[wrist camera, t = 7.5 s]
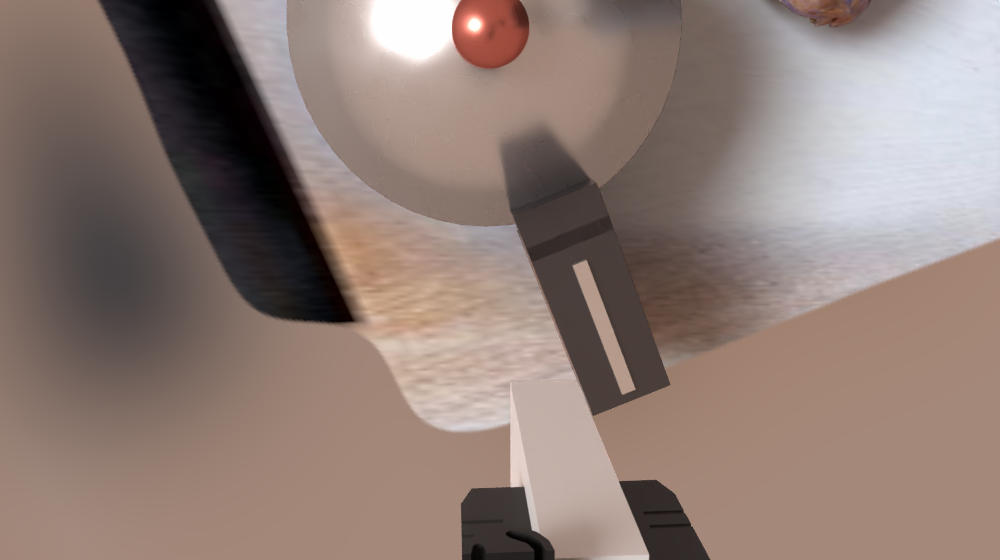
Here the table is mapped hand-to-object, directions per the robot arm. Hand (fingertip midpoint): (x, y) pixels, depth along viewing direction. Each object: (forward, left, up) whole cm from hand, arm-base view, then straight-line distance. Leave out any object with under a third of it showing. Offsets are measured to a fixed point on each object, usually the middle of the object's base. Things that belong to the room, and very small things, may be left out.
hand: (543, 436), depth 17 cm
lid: (-3, -5, -17) cm, 18 cm away
